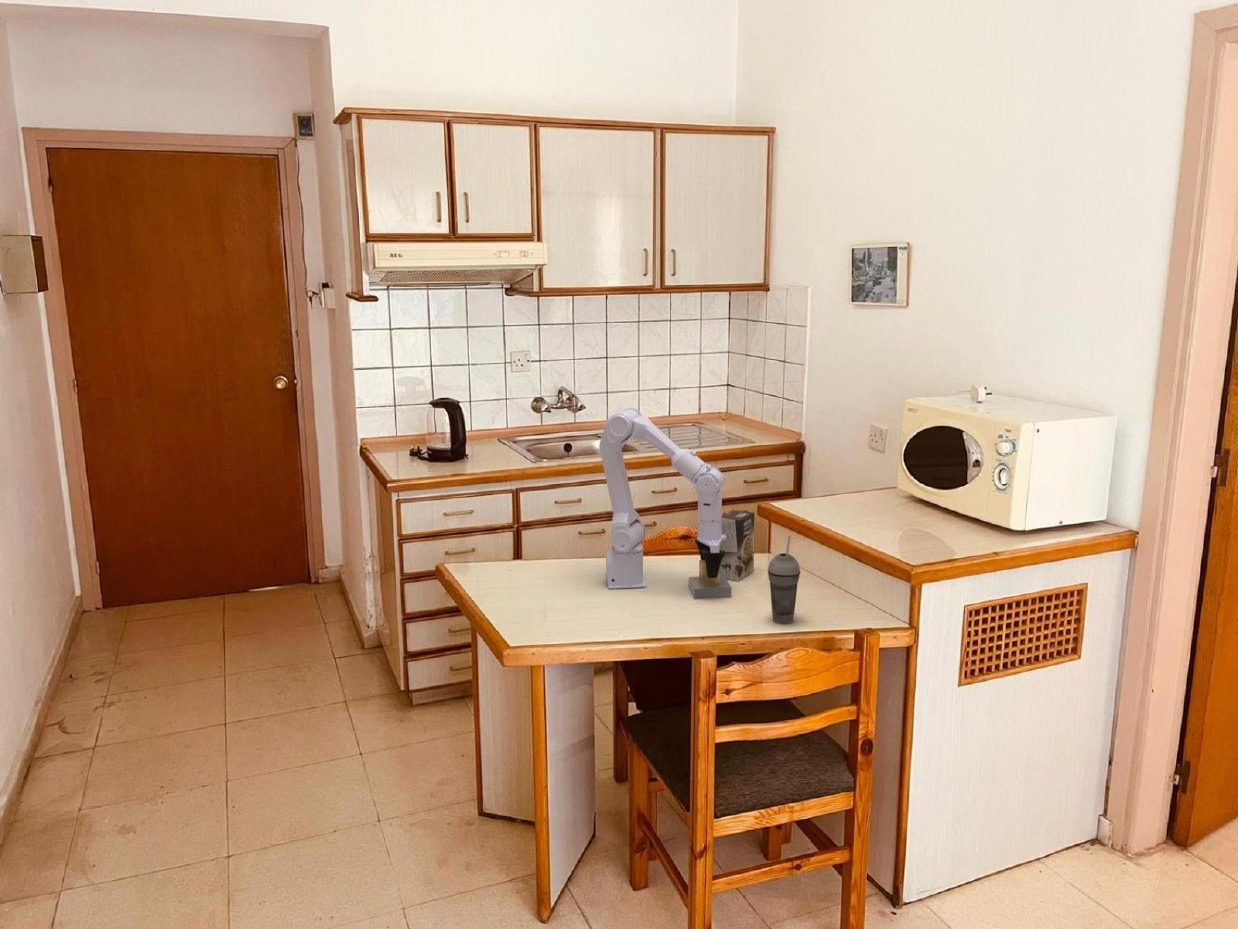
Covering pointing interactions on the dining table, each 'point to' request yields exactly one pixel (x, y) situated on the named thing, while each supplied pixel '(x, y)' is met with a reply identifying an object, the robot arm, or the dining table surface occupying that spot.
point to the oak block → (704, 577)
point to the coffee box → (737, 545)
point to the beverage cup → (783, 586)
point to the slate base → (709, 589)
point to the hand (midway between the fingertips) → (709, 572)
